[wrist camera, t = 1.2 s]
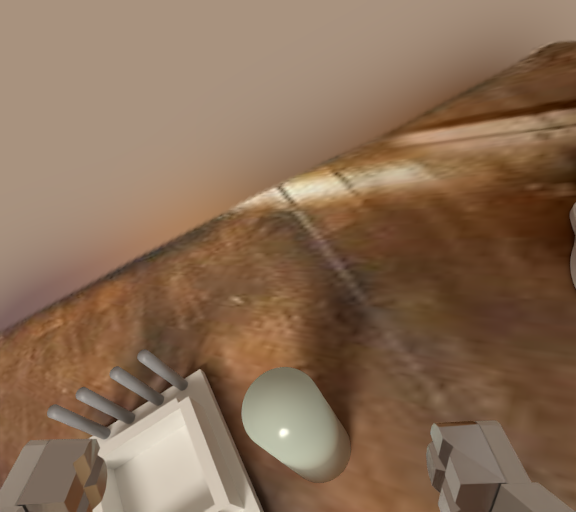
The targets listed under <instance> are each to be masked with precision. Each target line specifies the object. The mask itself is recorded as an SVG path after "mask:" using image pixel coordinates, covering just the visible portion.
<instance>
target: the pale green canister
mask: <svg viewBox="0 0 576 512" xmlns="http://www.w3.org/2000/svg"><path fill="white" fill-rule="evenodd" d="M242 421H243V425H244V428H245V430H246V432H247V434H248V435H249V437H250V438H251V439H252V440H253V441H254V442H255V443H256V444H258V445H259V446H260V447H262V448H263V449H264V450H266V451H267V452H269V453H270V454H271V455H273V456H274V457H275V458H277V459H278V460H279V461H281V462H282V463H284V464H285V465H286V466H288V467H289V468H290V469H292V470H293V471H295V472H296V473H297V474H299V475H300V476H301V477H303V478H304V479H306V480H308V481H311V482H315V483H324V482H328V481H331V480H333V479H335V478H336V477H338V476H339V475H340V474H341V473H342V472H343V471H344V469H345V468H346V466H347V464H348V461H349V458H350V453H351V445H350V439H349V436H348V434H347V432H346V430H345V429H344V427H343V426H342V424H341V423H340V421H339V420H338V418H337V416H336V415H335V413H334V412H333V410H332V409H331V407H330V406H329V404H328V403H327V401H326V400H325V398H324V397H323V395H322V394H321V392H320V391H319V389H318V387H317V386H316V384H315V383H314V382H313V380H312V379H311V378H310V377H309V376H308V375H307V374H305V373H304V372H302V371H300V370H298V369H295V368H290V367H280V368H275V369H272V370H269V371H267V372H265V373H263V374H262V375H261V376H259V377H258V378H257V379H256V380H255V381H254V382H253V383H252V384H251V386H250V387H249V389H248V391H247V392H246V395H245V397H244V400H243V404H242Z"/></svg>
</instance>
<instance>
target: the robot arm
mask: <svg viewBox="0 0 576 512" xmlns="http://www.w3.org/2000/svg"><path fill="white" fill-rule="evenodd" d="M570 221H571V224H572V227H573V230H574V233H575V242H574V246H573V249H572V253H571V259H570V269H571V276H572V280H573V283H574V286H575V288H576V203H575V204H574V205H573V207H572V209H571V211H570ZM430 434H431V437H432V440H433V441H432V442H431V443H430V444H429V445H428V447H427V454H426V457H427V468H428V473H429V477H430V480H431V483H432V486H433V487H434V488H435V489H436V490H437V491H439V492H440V497H439V502H438V505H439V508H440V511H441V512H575V511H574V510H573V509H571V508H570V507H569V506H567V505H566V504H565V503H564V502H562V501H561V500H560V499H558V498H557V497H556V496H555V495H553V494H552V493H551V492H549V491H548V490H547V489H546V488H544V487H543V486H542V485H541V484H539V483H538V482H531V481H530V479H529V477H528V475H527V473H526V471H525V470H524V468H523V466H522V464H521V462H520V460H519V458H518V456H517V455H516V453H515V451H514V449H513V447H512V445H511V443H510V441H509V440H508V438H507V436H506V434H505V432H504V430H503V428H502V426H501V425H500V423H498V422H497V421H496V420H491V421H475V422H474V421H462V422H445V423H434V424H433V425H432V427H431V432H430ZM99 449H100V446H99V444H98V442H97V439H56V440H30V441H29V442H28V443H27V444H26V445H25V446H24V447H23V449H22V451H21V453H20V455H19V457H18V458H17V460H16V462H15V464H14V466H13V468H12V469H11V471H10V473H9V475H8V477H7V479H6V480H5V482H4V484H3V486H2V488H1V490H0V512H93V511H92V510H93V509H94V508H95V507H96V506H97V505H98V504H99V503H100V502H101V501H102V499H103V496H104V493H105V490H106V483H107V466H106V463H105V460H104V459H103V458H101V457H100V456H98V452H99Z"/></svg>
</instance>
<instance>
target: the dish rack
mask: <svg viewBox="0 0 576 512" xmlns="http://www.w3.org/2000/svg"><path fill="white" fill-rule="evenodd" d="M137 358H138V360H139V361H140V362H141V363H143V364H144V365H146V366H147V367H148V368H150V369H151V370H153V371H154V372H155V373H157V374H158V375H160V376H161V377H162V378H164V379H165V380H166V381H168V382H169V383H171V384H172V385H173V386H172V387H170V388H169V389H167V390H166V391H164V392H162V393H161V394H160V393H158V392H157V391H155V390H154V389H152V388H151V387H149V386H148V385H146V384H145V383H143V382H141V381H140V380H138V379H137V378H135V377H134V376H132V375H131V374H129V373H128V372H126V371H125V370H123V369H122V368H120V367H118V366H117V367H114V368H113V369H112V370H111V371H110V377H111V378H112V379H113V380H115V381H117V382H118V383H120V384H122V385H123V386H125V387H127V388H128V389H130V390H132V391H133V392H135V393H137V394H138V395H140V396H141V397H143V398H145V399H146V400H148V402H146V403H145V404H143V405H142V406H140V407H138V408H137V409H135V410H134V411H132V412H130V411H128V410H126V409H125V408H123V407H121V406H119V405H117V404H115V403H113V402H112V401H110V400H108V399H106V398H104V397H102V396H100V395H99V394H97V393H95V392H93V391H91V390H89V389H87V388H86V387H82V388H80V389H79V390H78V391H77V393H76V398H77V399H78V400H80V401H82V402H84V403H86V404H88V405H90V406H92V407H94V408H96V409H98V410H100V411H102V412H104V413H106V414H108V415H110V416H112V417H114V418H116V419H118V421H116V422H114V423H113V424H111V425H110V426H108V427H105V426H103V425H100V424H98V423H96V422H94V421H92V420H89V419H87V418H85V417H83V416H81V415H78V414H76V413H74V412H72V411H70V410H67V409H65V408H63V407H61V406H59V405H56V404H55V405H52V406H51V407H50V408H49V409H48V412H47V415H48V417H50V418H52V419H55V420H57V421H60V422H62V423H64V424H67V425H69V426H72V427H74V428H77V429H79V430H81V431H84V432H86V433H89V434H91V435H93V436H92V437H90V438H89V439H97V442H98V444H99V446H100V449H99V452H98V456H100V457H101V458H103V459H104V460H105V463H106V466H107V483H106V490H105V493H104V496H103V499H102V501H101V502H100V503H99V504H98V505H97V506H96V507H95V508H94V509H93V510H92V511H93V512H264V511H263V509H262V506H261V504H260V502H259V499H258V497H257V495H256V492H255V490H254V488H253V485H252V483H251V481H250V478H249V476H248V474H247V471H246V469H245V467H244V464H243V462H242V459H241V457H240V455H239V452H238V450H237V448H236V445H235V443H234V441H233V438H232V436H231V434H230V431H229V429H228V427H227V424H226V422H225V420H224V417H223V415H222V412H221V410H220V408H219V405H218V403H217V401H216V398H215V396H214V394H213V391H212V389H211V387H210V384H209V382H208V380H207V377H206V375H205V373H204V372H203V371H202V370H201V369H199V370H198V371H196V372H194V373H193V374H191V375H190V376H188V377H186V378H185V379H184V378H183V377H181V376H180V375H179V374H177V373H176V372H175V371H174V370H172V369H171V368H170V367H168V366H167V365H166V364H165V363H163V362H162V361H161V360H159V359H158V358H157V357H156V356H154V355H153V354H152V353H150V352H149V351H148V350H145V349H144V350H142V351H140V352H139V354H138V357H137Z"/></svg>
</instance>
